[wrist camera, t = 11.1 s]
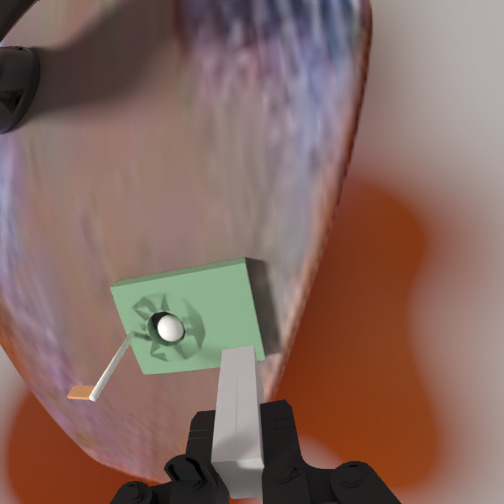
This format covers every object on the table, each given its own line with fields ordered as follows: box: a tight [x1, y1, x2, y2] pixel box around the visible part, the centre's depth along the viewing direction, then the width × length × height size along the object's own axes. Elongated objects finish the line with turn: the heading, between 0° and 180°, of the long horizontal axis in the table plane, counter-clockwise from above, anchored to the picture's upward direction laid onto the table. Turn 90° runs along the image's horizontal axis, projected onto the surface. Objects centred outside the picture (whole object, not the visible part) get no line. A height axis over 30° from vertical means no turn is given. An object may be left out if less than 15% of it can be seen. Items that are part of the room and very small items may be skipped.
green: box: [67, 257, 265, 402], centre depth 31 cm, size 21×14×16 cm
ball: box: [158, 315, 184, 341], centre depth 38 cm, size 4×4×4 cm
